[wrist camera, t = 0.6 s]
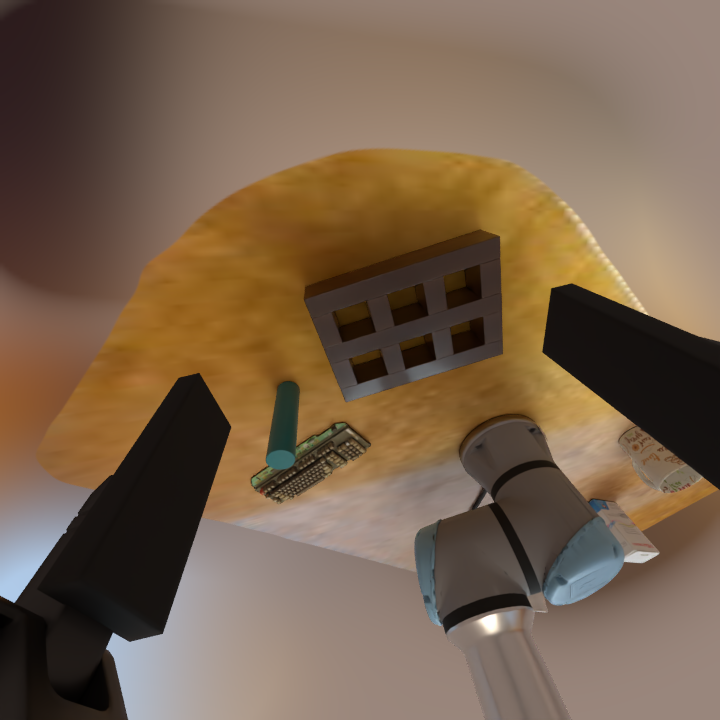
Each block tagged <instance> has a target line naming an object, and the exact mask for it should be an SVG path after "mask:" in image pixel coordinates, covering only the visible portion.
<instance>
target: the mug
mask: <svg viewBox="0 0 720 720" xmlns="http://www.w3.org/2000/svg"><path fill="white" fill-rule="evenodd" d="M619 444H620V446H621V447H622V448H623V450H624V451H625V452H626V453H627V454H628V455H629V456H630V458H631V459H632V465H633V467H634V469H635V471H636V473H637V474H638V476H639V477H640V478H641V480H642V481H643V482H644V483H646V484H647V485H648V486H650V487H651V488H653V489H655V490H658V491H662V492H664V493H673V492H677V491H680V490H683V489H685V488H688V487H690V486H691V485H693V484H695V483H696V482H698V481H699V480H700V479H701V478H702V477H703V476H701V475H700V474H699V473H697V472H696V471H695V470H693V469H692V468H691V467H690V466H688V465H687V464H686V463H684V462H683V461H682V460H681V459H679V458H678V457H677V456H675V455H674V454H673V453H672V452H670V451H669V450H668V449H666V448H665V447H664V446H663V445H661V444H660V443H659V442H657V441H656V440H655V439H654V438H652V437H651V436H650V435H648V434H647V433H646V432H645V431H643V430H642V429H641V428H639V427H635V428H632V429H630V430H629V431H627V432H626V433H625V434H624V435H623V436H622V437H621V438H620V440H619ZM640 469H641V470H642V471H643V472H644V473H645V475H646V476H647V477H648V478H649V479H650V480H651V481H652V482H651V481H650V480H648V479H647V478H646V477H645V476H644V474H643V473H642V471H641V470H640Z"/></svg>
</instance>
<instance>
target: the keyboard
mask: <svg viewBox="0 0 720 720" xmlns="http://www.w3.org/2000/svg"><path fill="white" fill-rule="evenodd" d="M370 445H371V444H370V443H368V442H367V441H365V440H364V439H363V438H362V437H361V436H359V435H358V434H357V433H356V432H355V431H354V430H352V429H351V428H350V427H349V426H348V425H347V424H345V423H340V424H334V425H333V426H331V428H329V429H328V430H326V431H325V432H323V433H322V434H321V435H319V436H318V437H317V436H312V437H311V438H309V439H308V440H306V441H305V442H304V443H302V444H301V445H299V446H298V447H296V456H295V462H294V464H293V465H292V466H291V467H289V468H287V469H282V470H279V469H274V468H271V467H270V466H268V467H267V468H266V469H264V470H263V471H261V472H260V473H258V474H257V475H256V476H254V477H253V478H252V479H251V483H252V486H253V487H254V489H256V490H255V491H257V492H259V493H260V494H262V495H265V496H266V499H269V498H271V499H272V500H273V501H274V502H277V503H278V504H281V503H282V502H284V501H285V500H287V499H290V500H292V499H293V498H294V496H293V495H295V494H296V495H297V496H299V495H300V494H302V493H303V492H305V491H307V490H308V489H310V488H311V487H313V486H315V485H316V484H318V483H319V482H321V481H323V480H324V479H325V478H326V477H328V475H329V476H330V475H331V474H332V471H333V470H334V469H335V468H338V467H340V468H342V467H344V466H346V465H347V463H348V462H347V461H349V460H350V459H351V460H352V461H354V460H355V459H357V458H358V457H359V456H361V455H362V454H363V453H365V452H366V448H368V447H370Z"/></svg>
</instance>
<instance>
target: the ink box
mask: <svg viewBox="0 0 720 720" xmlns="http://www.w3.org/2000/svg"><path fill="white" fill-rule="evenodd" d="M589 504H590V506H591V507H592V508H593V509H594V510H595V511H596V513H597V514H598V515H599V516H600V517H602V518H603V519H604V521H605V523H606V526H607V527H608V528H609V529H610V531H611V532H612V533H613V535H614V536H615V537H616V539H617V540H618V541H619V543H620V544H621V546H622V548H623V550H624V555H625V559H624V562H636V563H644V562H645V561H647V560H649V559H651V558H653V557H654V556H656V555H658V554H659V551H658V550H657V549H656V548H655V547H654V546H653V544H651V542H650V541H649V540H648V539H647V538H646V537H645V535H644V534H643V533H642V532H641V531H640V530H639V529H638V527H637V526H636V525H635V524H634V523H633V522H632V521H631V519H630V518H629V517H628V516H627V515H626V514H625V513H624V512H623V510H622V509H621V508H620V507H619V506H618V505H617V504H616V503H615V502H609V501H602V500H596V499H592V500H591V501H590V502H589Z"/></svg>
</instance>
